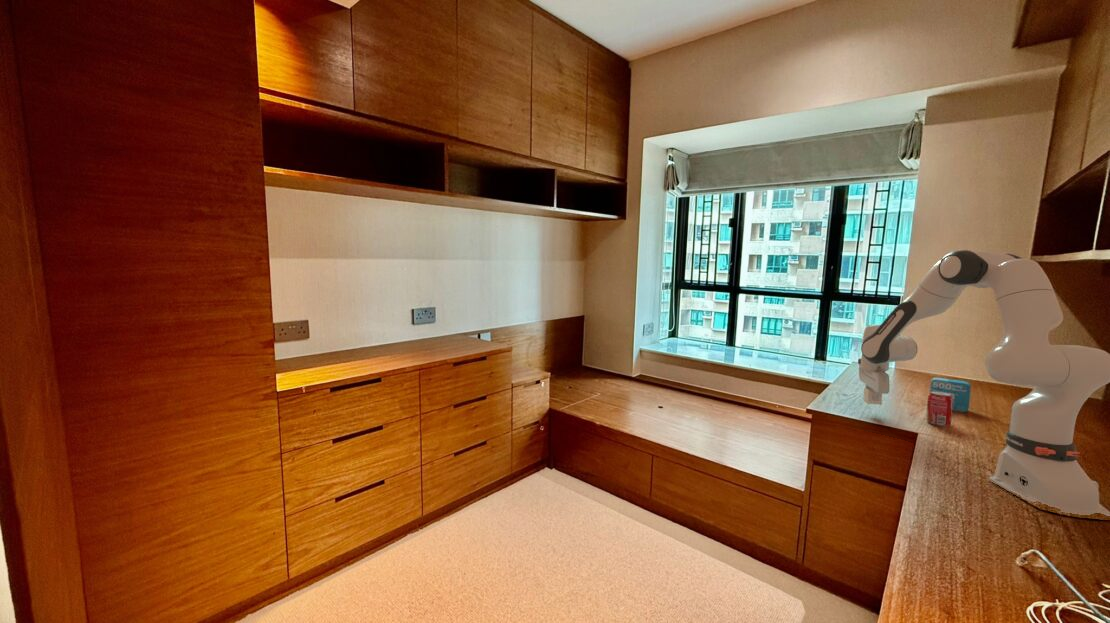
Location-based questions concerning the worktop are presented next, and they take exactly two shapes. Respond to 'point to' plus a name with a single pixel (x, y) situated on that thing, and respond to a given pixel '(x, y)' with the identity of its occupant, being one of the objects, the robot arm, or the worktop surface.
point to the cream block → (868, 396)
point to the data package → (954, 392)
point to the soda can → (939, 408)
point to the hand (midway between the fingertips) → (872, 398)
